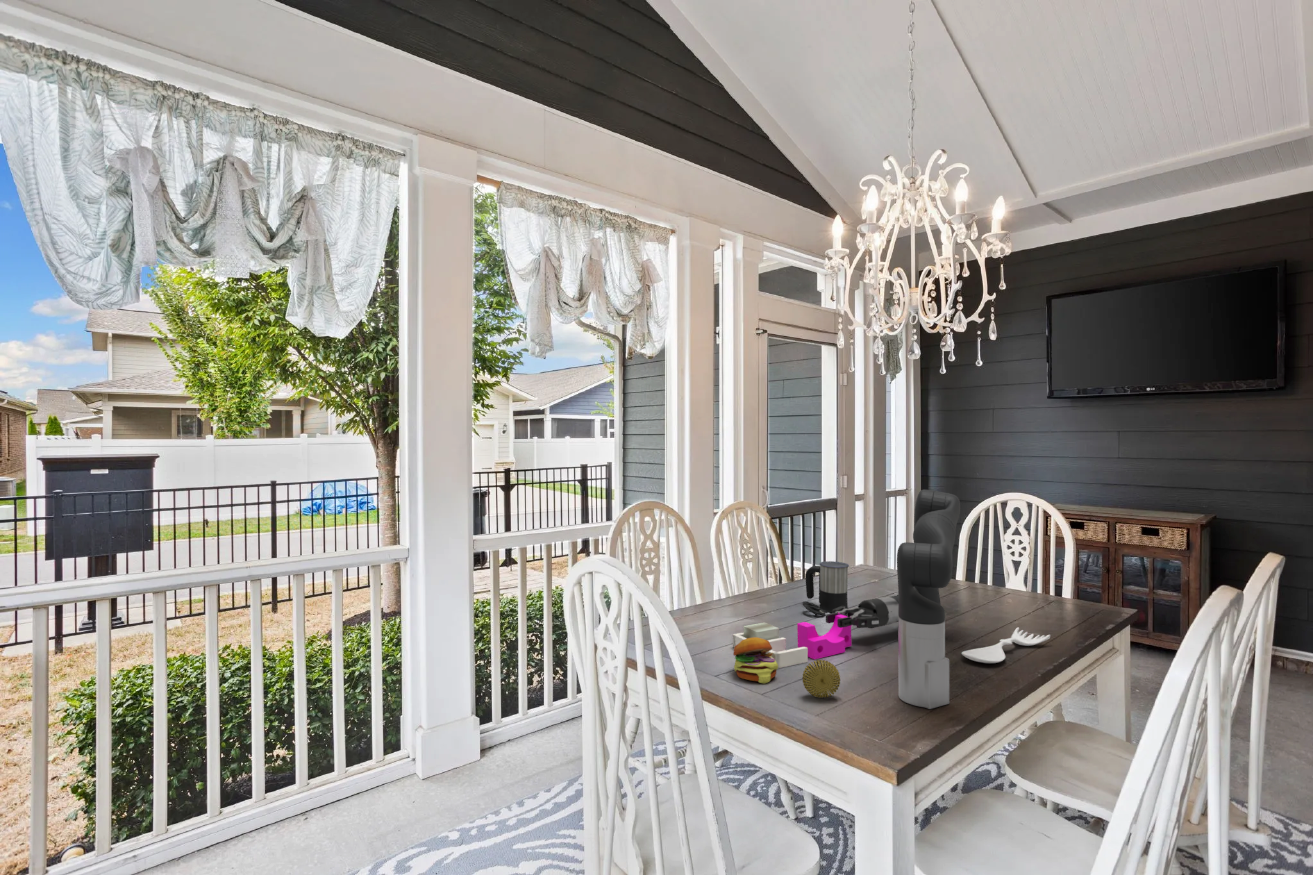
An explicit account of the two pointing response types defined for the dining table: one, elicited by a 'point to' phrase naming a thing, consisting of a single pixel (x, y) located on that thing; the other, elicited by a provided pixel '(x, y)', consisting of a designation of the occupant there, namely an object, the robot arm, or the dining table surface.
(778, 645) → the lane rack
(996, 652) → the white long tined part
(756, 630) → the sage block
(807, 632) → the toy block
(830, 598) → the milk frother
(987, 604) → the dining table surface
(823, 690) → the sculpture
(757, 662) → the cheeseburger
